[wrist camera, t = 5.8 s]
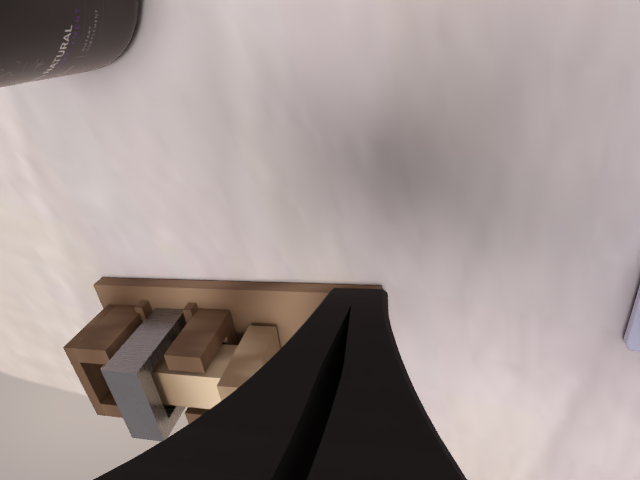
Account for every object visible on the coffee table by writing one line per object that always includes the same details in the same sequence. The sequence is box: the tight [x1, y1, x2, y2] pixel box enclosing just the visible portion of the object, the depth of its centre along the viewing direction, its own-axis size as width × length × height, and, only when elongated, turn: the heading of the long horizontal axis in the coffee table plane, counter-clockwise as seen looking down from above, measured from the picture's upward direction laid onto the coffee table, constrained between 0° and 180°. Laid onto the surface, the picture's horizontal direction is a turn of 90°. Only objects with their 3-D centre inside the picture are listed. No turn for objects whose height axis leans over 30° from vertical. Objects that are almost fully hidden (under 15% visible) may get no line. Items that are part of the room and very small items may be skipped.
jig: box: [63, 278, 382, 424], centre depth 24 cm, size 17×8×5 cm, turn 96°
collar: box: [101, 308, 187, 441], centre depth 24 cm, size 2×5×5 cm, turn 6°
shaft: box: [101, 325, 280, 409], centre depth 23 cm, size 9×4×4 cm, turn 96°
